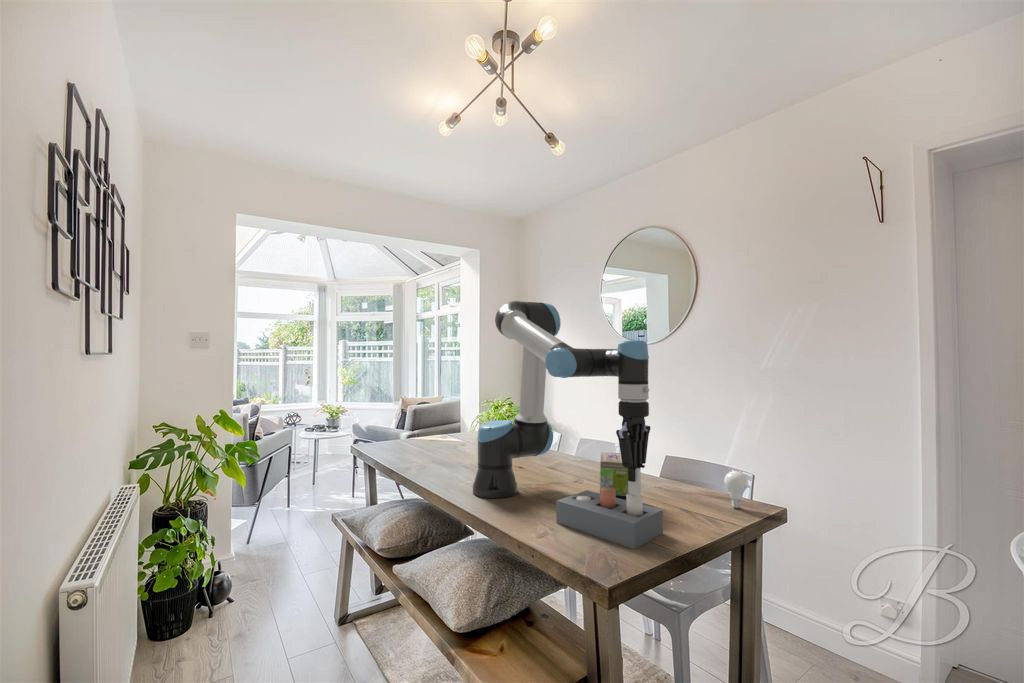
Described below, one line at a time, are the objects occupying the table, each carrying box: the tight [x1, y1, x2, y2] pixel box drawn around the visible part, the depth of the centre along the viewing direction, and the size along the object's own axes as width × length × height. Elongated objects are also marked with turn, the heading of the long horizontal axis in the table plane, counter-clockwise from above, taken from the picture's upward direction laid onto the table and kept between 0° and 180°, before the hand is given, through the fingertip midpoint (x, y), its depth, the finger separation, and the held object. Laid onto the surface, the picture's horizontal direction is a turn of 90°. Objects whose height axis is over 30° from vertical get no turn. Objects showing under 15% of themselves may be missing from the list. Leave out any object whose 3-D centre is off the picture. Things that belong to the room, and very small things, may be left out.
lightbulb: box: [724, 470, 749, 510], centre depth 136 cm, size 6×6×11 cm
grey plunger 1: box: [576, 496, 591, 502], centre depth 126 cm, size 4×4×6 cm
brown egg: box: [599, 487, 616, 509], centre depth 121 cm, size 4×4×6 cm
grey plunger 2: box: [626, 493, 644, 517], centre depth 115 cm, size 4×4×6 cm
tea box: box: [599, 451, 629, 500], centre depth 140 cm, size 15×10×15 cm
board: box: [555, 489, 664, 550], centre depth 121 cm, size 24×14×6 cm, turn 44°
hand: (634, 493), depth 115 cm, fingers closed
